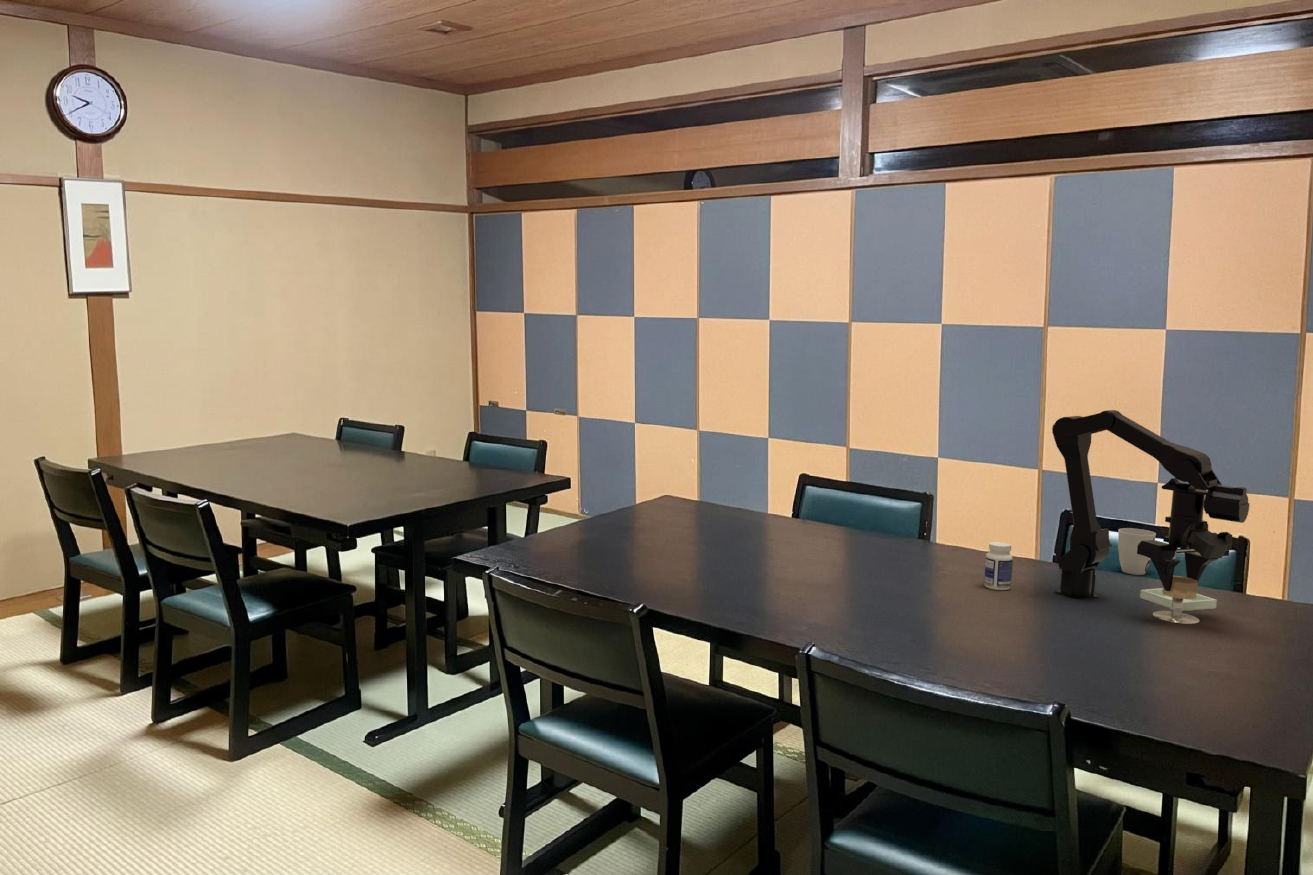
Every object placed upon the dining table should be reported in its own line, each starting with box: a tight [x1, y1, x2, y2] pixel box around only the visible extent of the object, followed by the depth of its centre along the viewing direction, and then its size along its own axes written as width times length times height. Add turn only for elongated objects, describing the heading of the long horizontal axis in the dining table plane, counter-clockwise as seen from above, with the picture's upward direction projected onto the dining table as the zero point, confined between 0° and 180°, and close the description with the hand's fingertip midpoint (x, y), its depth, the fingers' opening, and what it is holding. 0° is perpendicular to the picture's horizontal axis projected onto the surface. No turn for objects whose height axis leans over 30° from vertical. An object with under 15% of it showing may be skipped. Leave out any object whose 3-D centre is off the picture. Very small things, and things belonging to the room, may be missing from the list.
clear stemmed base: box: [1152, 597, 1200, 625], centre depth 200 cm, size 8×8×5 cm
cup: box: [1117, 527, 1157, 576], centre depth 238 cm, size 8×8×10 cm
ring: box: [1162, 574, 1199, 599], centre depth 199 cm, size 6×6×3 cm
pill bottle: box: [983, 541, 1014, 591], centre depth 220 cm, size 6×6×10 cm
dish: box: [1139, 587, 1218, 612], centre depth 210 cm, size 10×10×2 cm
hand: (1179, 589), depth 199 cm, fingers closed on ring, 6 cm apart
